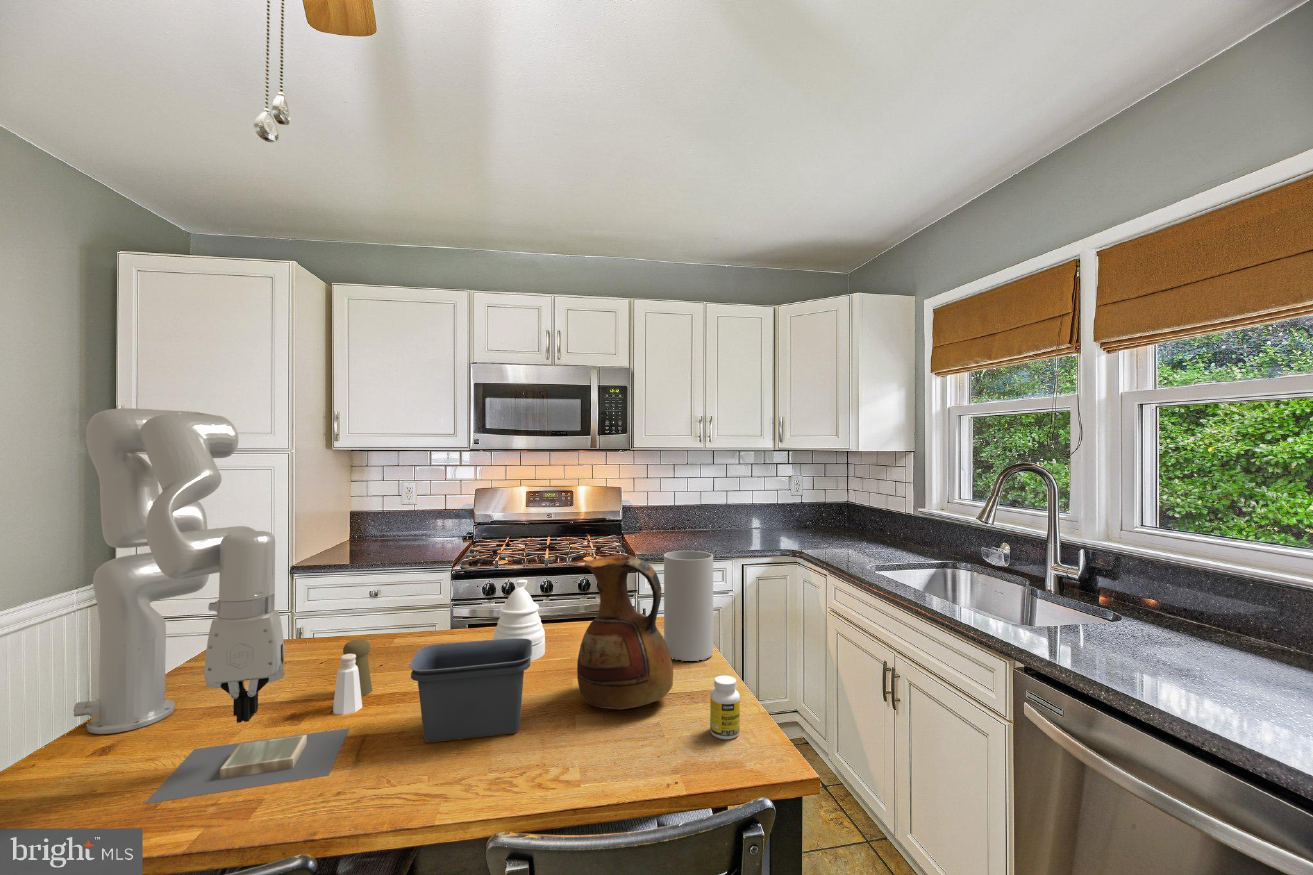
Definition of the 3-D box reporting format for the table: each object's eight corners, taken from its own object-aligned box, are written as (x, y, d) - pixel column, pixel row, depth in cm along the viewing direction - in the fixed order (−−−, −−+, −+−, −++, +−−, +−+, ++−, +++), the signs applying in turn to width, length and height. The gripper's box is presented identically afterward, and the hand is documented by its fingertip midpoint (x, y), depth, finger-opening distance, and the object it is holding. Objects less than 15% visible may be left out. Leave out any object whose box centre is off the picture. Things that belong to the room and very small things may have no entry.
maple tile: (220, 768, 90) (293, 758, 93) (239, 743, 98) (306, 734, 101) (219, 779, 90) (292, 768, 93) (239, 753, 97) (306, 743, 101)
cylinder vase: (688, 641, 154) (688, 548, 155) (723, 654, 145) (723, 555, 146) (653, 653, 146) (653, 554, 146) (689, 667, 137) (688, 562, 137)
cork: (358, 699, 119) (359, 646, 119) (333, 697, 120) (334, 644, 121) (378, 687, 125) (378, 637, 125) (354, 685, 126) (354, 635, 126)
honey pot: (505, 643, 153) (505, 576, 153) (551, 646, 151) (551, 577, 151) (484, 661, 140) (484, 588, 141) (534, 664, 138) (534, 589, 139)
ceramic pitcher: (593, 677, 131) (593, 545, 131) (680, 684, 127) (680, 549, 127) (562, 716, 112) (562, 562, 112) (663, 727, 107) (663, 567, 108)
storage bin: (404, 753, 98) (405, 670, 99) (422, 712, 113) (422, 640, 114) (531, 740, 103) (531, 660, 103) (531, 702, 118) (532, 632, 118)
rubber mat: (143, 807, 84) (143, 804, 84) (194, 751, 99) (194, 748, 99) (328, 778, 91) (328, 775, 91) (349, 730, 106) (349, 728, 106)
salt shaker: (341, 720, 110) (342, 662, 111) (326, 713, 113) (326, 657, 113) (368, 709, 115) (368, 654, 115) (353, 702, 118) (353, 648, 118)
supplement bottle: (721, 743, 102) (720, 687, 102) (704, 729, 106) (704, 676, 107) (745, 736, 104) (745, 681, 104) (728, 723, 109) (728, 671, 109)
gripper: (182, 617, 89) (180, 736, 89) (292, 609, 94) (291, 722, 93) (202, 604, 96) (201, 715, 96) (304, 597, 101) (303, 702, 100)
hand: (245, 718), depth 95 cm, fingers closed
